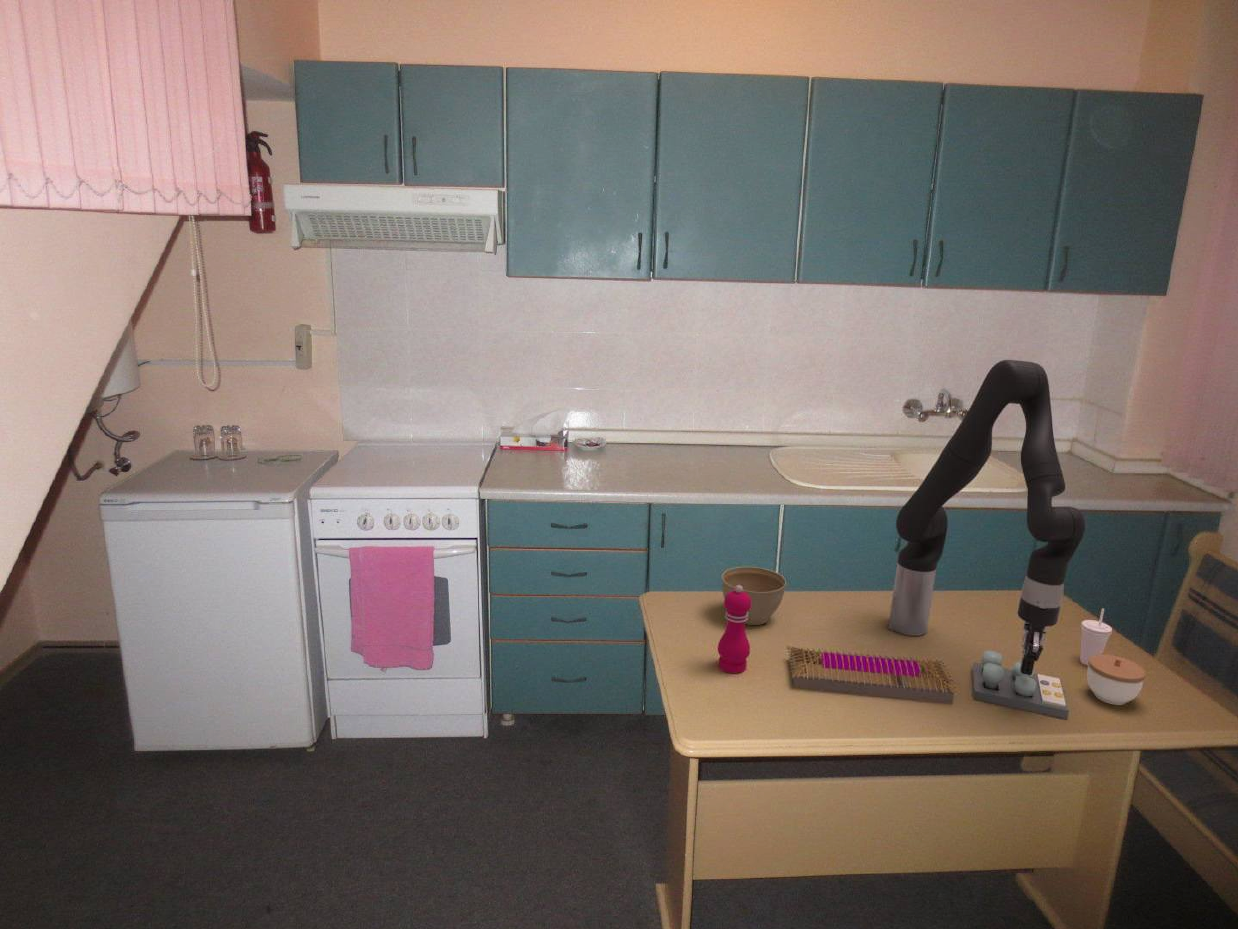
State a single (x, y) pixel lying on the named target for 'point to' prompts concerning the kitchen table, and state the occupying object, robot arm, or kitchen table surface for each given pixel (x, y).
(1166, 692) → the kitchen table surface
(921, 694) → the rafter model
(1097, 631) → the smoothie
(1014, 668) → the button far right
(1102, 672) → the lidded jar
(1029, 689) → the button near right
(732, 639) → the pepper mill
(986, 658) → the button far left
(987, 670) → the button near left
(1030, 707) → the button board
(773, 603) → the planter bowl
